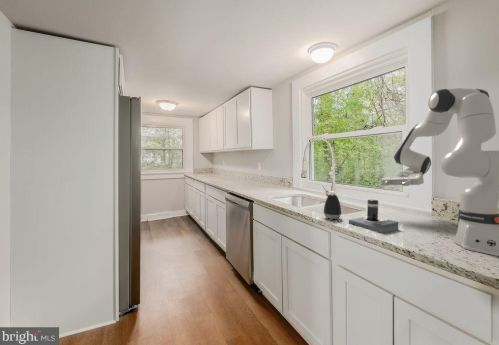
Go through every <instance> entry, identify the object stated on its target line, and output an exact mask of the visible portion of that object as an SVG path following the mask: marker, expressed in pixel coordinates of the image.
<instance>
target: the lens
mask: <svg viewBox="0 0 499 345" xmlns="http://www.w3.org/2000/svg"><path fill="white" fill-rule="evenodd" d="M366 207H367V208H366V209H367V213H366V214H367V215H366V216H367V217H366V218H367V220H368V221H374V222H377V221H378V219H379V200H377V199H367V206H366Z"/></svg>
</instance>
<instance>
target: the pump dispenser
mask: <svg viewBox="0 0 499 345" xmlns="http://www.w3.org/2000/svg"><path fill="white" fill-rule="evenodd" d="M323 214H324V216H325V218H326V219H328V218H329V219H328V220H330V219H336V220H338V219H340V217H341V215H342V206H341V202H340V199H339V197H338V195H336V194H335V193H331V194H328V193H326V200H325V202H324V205H323Z"/></svg>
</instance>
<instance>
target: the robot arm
mask: <svg viewBox="0 0 499 345" xmlns="http://www.w3.org/2000/svg"><path fill="white" fill-rule="evenodd" d="M428 107H429V108H428V110H426V113H425V116H424V118H423V120H422V121H421V122H420V123H419V124H415V125H414V126H413V127H412V128H411V129H410V131H409V132H408V134H407V135H406V137H405V139H404V140H403V142H402V143H401V145H400V147H399V148H398V150H397V151H396V152H395V154H394V155H393V159H394V161H395V163H396V164H398V165H402V166H405V167H407V168H406V169H404V170H402V171H400V172H398V173H397V175H395V176H394V175H393V176H386V177H383V178H381V180H380V183H381V185H383V186H389V185H390V186H403V187H408V186H413V185H414V186H417V185H419V186H420V185H422V184H424V180H425V179H424V175H425V174H427V172H428V171H429V170H430V168H431V166H432V159H431V158H430V156H428V155H425V154H423V153H420V152H417V151H414V150H412V149H411V147H412V145H413V143H414V142H415V140H416V139H417V138H420V137H424V138H425V137H435V136H439V135H441V134H443V133H444V132H445V131H446V130H447V129H448V127H449V125H450V123H451V121H452V118H453V117H454V116H453V115H455V114H457V115H456V116H457V117H456V118H457V130H458V132H457V134H458V136H457V141H456V144H455V146H454V147H453V148H452V150H450V152H448V153H446V154H445V155H444V156H443V157H442V159H441V161H440V168H441V170H442V172H443V173H444V174H445V175H447V176H450V177H456V178H465V179H466V178H468V179H469V178H470V179H471V178H474V179H476V181H475V182H474V184H472V185H470V186H468V187H466V188H464V189H463V190H462V191H461V192H460V202H459V209H458V213H457V220H458V221H457V222H458V226H457V229H456V234H455V237H454V239H453V242H454V243H455V244H456V245H459V246H461V248H463V249H464V250H469V251H472V252H478V253H482V254H487V255H491V256H495V257H499V150H482V145H483V144H484V143H486V142H488V141H490V140H491V139H493V138H494V137H495V135H496V133H497V128H496V126H497V125H496V120H495V112H494V109H493V104H492V102H491V99H490V94H489V92H488V91H487V90H484V89H479V88H461V87H459V88H457V87H455V88H443V89H438V90H435V91H434V92H433V93H431V95H430V97H429V99H428Z"/></svg>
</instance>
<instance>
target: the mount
mask: <svg viewBox="0 0 499 345" xmlns="http://www.w3.org/2000/svg"><path fill="white" fill-rule="evenodd" d="M349 223H351V224H350V225H353V224H354V225H353V226H356V225H357V227H360V228H364V229H367V230H371V231H375V232H377V233H380V234H381V233H382V234H386V233H390V232H395V231H398V230H399V221H396V220H391V219H386V220H382V219H379V218H378V221H377V222H374V221H368V220H367V217H363V216H362V217H357V218H351V219H348V224H349Z"/></svg>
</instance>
